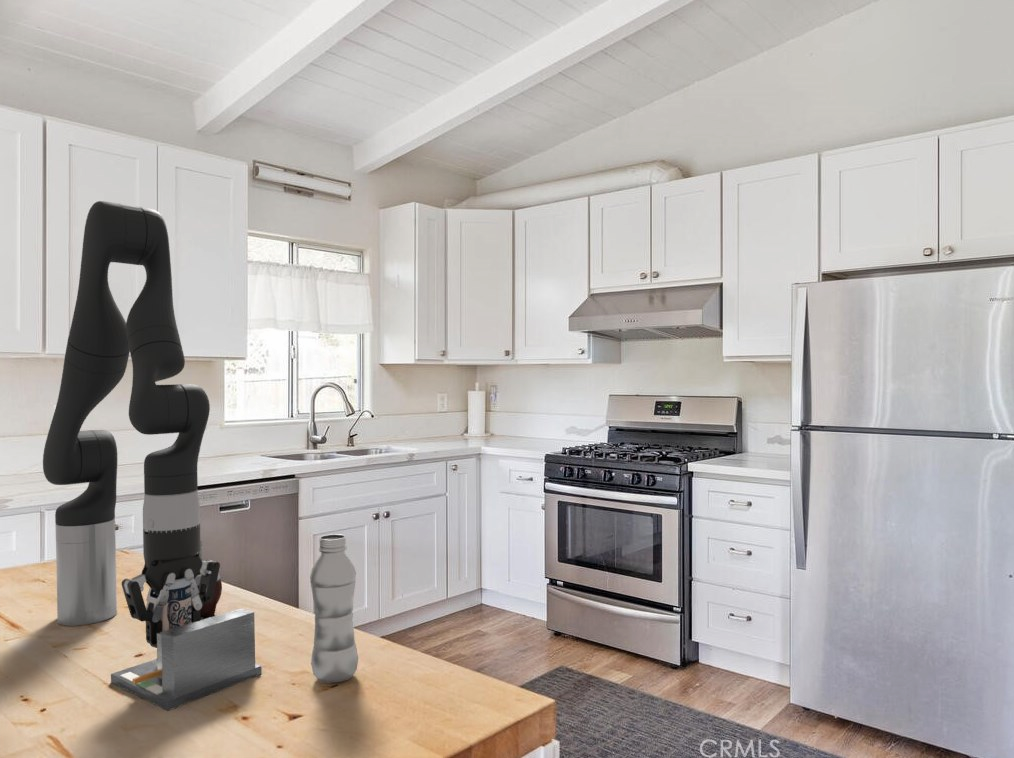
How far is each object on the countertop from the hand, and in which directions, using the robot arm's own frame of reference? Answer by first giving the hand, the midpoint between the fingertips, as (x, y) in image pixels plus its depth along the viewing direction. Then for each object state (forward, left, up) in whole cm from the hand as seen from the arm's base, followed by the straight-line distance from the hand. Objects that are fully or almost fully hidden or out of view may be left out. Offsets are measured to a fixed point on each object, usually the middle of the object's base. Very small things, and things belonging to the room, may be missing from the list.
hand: (173, 639), depth 108 cm
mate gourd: (-20, +16, -5) cm, 26 cm away
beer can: (0, 0, -3) cm, 3 cm away
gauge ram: (+3, -2, -3) cm, 5 cm away
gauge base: (+3, 0, -5) cm, 6 cm away
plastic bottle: (+21, +12, -5) cm, 24 cm away
